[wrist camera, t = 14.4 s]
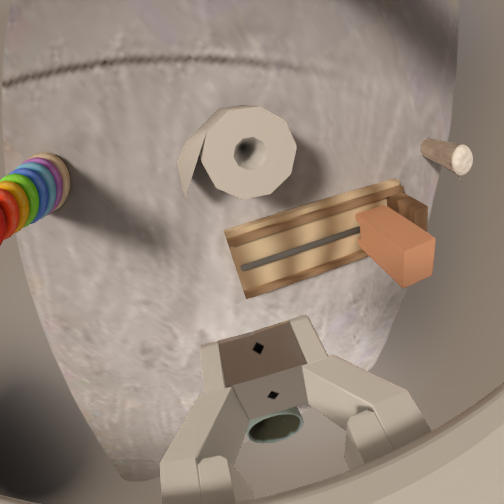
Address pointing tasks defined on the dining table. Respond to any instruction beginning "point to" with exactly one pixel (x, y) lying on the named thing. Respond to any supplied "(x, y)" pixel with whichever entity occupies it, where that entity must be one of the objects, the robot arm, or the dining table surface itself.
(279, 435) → the green cup
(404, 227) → the panel
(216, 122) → the toilet tissue
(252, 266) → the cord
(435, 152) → the milkshake
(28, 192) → the stacking toy
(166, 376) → the dining table surface
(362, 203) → the channel
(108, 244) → the dining table surface
